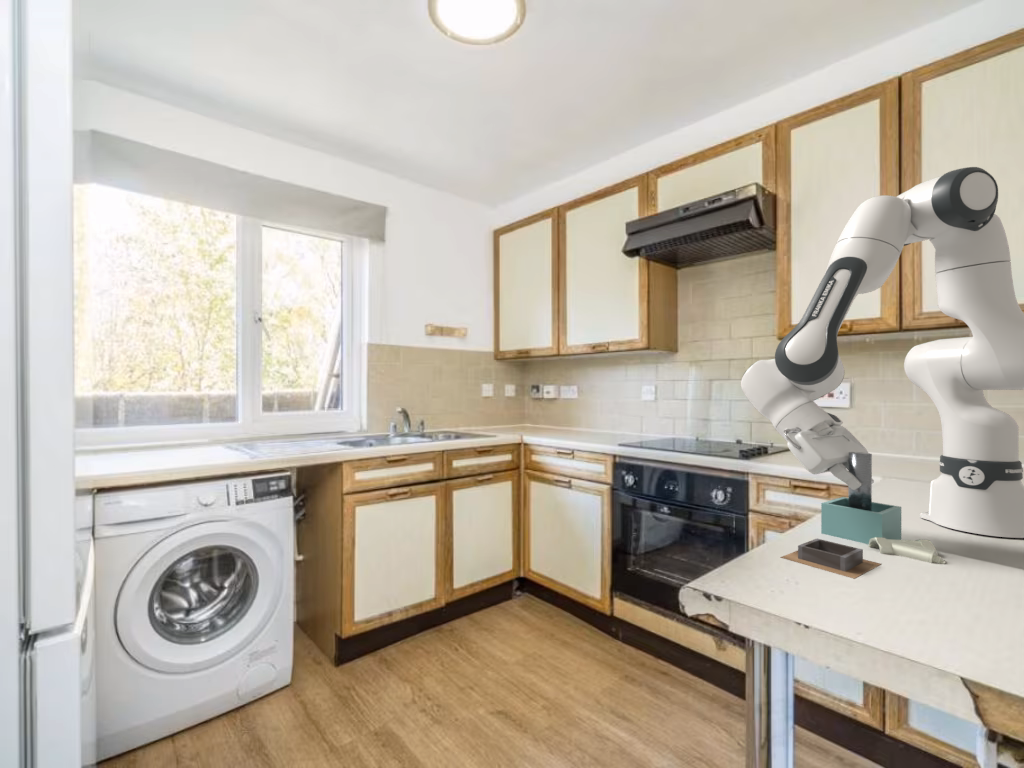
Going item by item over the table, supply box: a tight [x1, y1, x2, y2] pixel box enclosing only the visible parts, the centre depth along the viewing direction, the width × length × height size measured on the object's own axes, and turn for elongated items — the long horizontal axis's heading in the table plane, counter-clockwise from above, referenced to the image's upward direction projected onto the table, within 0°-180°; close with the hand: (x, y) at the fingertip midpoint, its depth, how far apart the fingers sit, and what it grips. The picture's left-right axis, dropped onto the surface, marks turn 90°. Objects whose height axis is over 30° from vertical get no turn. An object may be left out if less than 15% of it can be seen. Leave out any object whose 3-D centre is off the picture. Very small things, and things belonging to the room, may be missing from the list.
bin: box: [820, 496, 902, 545], centre depth 86 cm, size 9×9×7 cm
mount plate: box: [780, 538, 882, 579], centre depth 73 cm, size 10×10×4 cm
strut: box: [847, 452, 873, 511], centre depth 86 cm, size 4×4×13 cm
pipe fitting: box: [868, 537, 946, 565], centre depth 76 cm, size 8×4×7 cm
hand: (864, 486), depth 86 cm, fingers closed on strut, 3 cm apart
